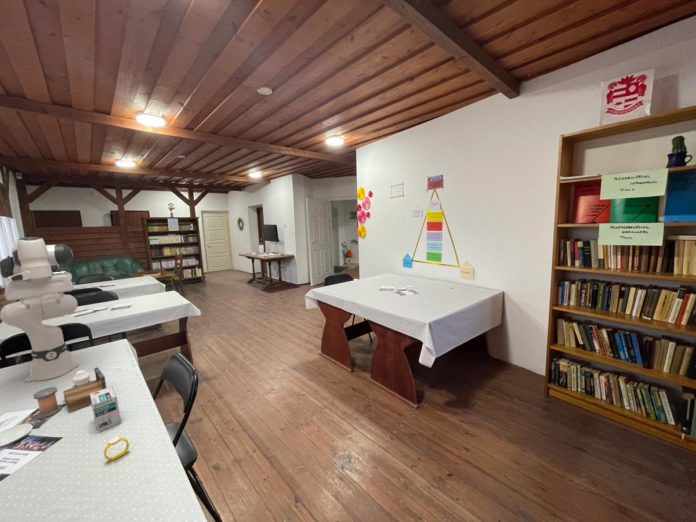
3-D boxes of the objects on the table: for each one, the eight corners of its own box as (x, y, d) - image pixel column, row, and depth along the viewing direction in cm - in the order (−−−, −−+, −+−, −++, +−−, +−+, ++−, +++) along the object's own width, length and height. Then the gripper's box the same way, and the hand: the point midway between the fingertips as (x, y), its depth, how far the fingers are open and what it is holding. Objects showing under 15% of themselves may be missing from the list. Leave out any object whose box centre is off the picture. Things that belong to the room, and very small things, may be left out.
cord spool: (37, 414, 112) (32, 392, 111) (60, 405, 117) (56, 385, 116) (38, 420, 108) (34, 398, 107) (62, 411, 113) (58, 390, 112)
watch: (128, 448, 92) (126, 431, 92) (130, 452, 91) (128, 435, 90) (104, 460, 88) (101, 443, 87) (106, 465, 86) (103, 447, 85)
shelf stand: (64, 399, 121) (60, 378, 119) (101, 386, 130) (98, 366, 129) (70, 412, 112) (65, 390, 111) (109, 397, 121) (105, 376, 120)
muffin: (78, 389, 128) (75, 374, 127) (70, 387, 131) (67, 372, 130) (94, 382, 134) (92, 368, 133) (86, 379, 136) (84, 366, 135)
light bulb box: (121, 423, 105) (117, 395, 103) (97, 433, 100) (92, 405, 98) (116, 410, 112) (112, 385, 111) (93, 419, 107) (89, 393, 106)
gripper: (69, 270, 133) (75, 299, 134) (1, 278, 117) (8, 311, 118) (71, 270, 129) (77, 300, 130) (1, 278, 113) (8, 312, 114)
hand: (44, 305), depth 124 cm, fingers open, 8 cm apart
